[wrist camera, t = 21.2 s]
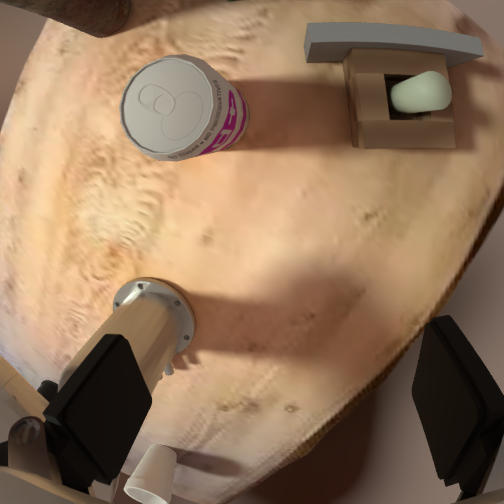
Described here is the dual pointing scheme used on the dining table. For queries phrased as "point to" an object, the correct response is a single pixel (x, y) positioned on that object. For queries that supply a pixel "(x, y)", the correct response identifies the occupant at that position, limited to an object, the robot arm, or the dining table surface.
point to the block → (376, 106)
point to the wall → (386, 41)
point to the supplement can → (182, 109)
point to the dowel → (419, 94)
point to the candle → (80, 13)
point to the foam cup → (153, 476)
